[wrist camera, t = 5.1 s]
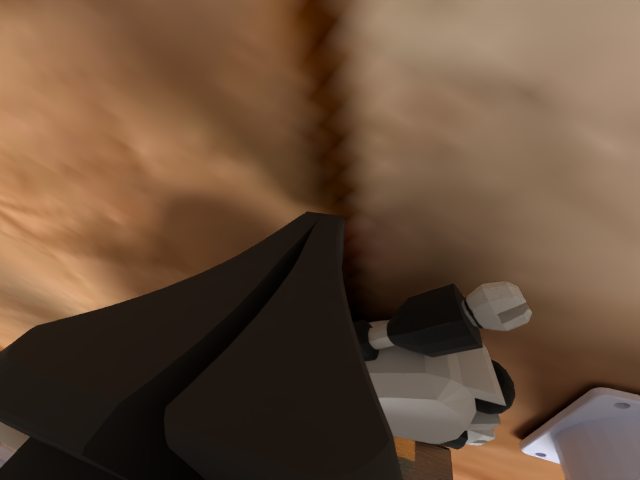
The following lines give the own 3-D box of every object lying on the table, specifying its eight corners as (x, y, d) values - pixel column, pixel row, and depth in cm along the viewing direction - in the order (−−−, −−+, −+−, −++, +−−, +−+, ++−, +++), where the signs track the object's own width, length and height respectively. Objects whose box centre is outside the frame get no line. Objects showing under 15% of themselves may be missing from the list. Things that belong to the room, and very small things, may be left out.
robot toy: (511, 220, 9) (183, 248, 14) (586, 324, 6) (112, 316, 10) (480, 390, 16) (263, 372, 20) (506, 489, 12) (237, 440, 17)
